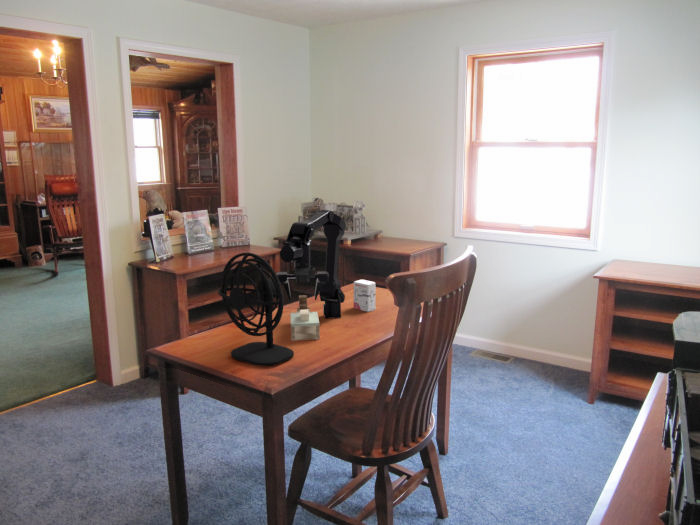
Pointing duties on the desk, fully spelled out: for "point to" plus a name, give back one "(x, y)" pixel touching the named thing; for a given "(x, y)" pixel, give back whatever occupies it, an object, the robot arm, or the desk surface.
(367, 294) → the ink box
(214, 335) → the desk surface
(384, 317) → the desk surface
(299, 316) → the lid
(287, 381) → the desk surface
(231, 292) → the desk fan
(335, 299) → the robot arm
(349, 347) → the desk surface
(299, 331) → the beige piece
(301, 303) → the brown l-shaped block
